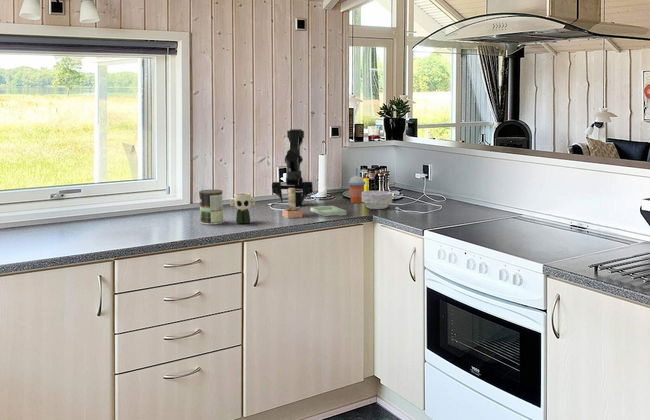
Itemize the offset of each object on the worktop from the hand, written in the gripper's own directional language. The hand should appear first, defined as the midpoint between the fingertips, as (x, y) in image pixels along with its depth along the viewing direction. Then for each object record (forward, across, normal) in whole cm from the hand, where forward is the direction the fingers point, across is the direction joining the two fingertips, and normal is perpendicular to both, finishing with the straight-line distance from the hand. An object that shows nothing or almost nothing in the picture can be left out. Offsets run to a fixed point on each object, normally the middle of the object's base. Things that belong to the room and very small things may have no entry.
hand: (291, 202), depth 288 cm
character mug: (+13, -21, -2) cm, 25 cm away
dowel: (+4, 0, +6) cm, 7 cm away
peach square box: (+4, 0, +6) cm, 7 cm away
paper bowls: (-13, +40, +23) cm, 48 cm away
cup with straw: (-25, +31, +36) cm, 54 cm away
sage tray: (-3, +16, +13) cm, 21 cm away
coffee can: (+11, -35, -1) cm, 37 cm away
